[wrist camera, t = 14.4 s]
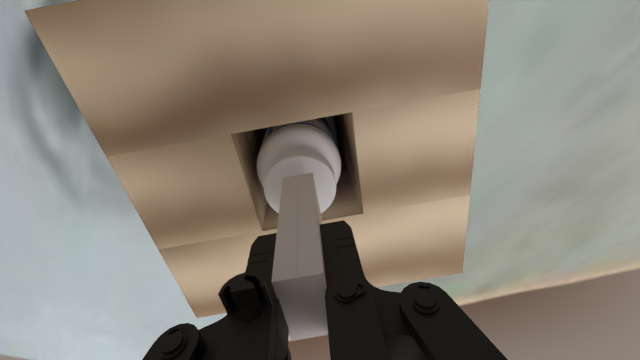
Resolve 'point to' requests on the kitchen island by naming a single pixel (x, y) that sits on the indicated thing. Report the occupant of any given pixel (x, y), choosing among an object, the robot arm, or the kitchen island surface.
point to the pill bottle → (299, 159)
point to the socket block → (280, 120)
